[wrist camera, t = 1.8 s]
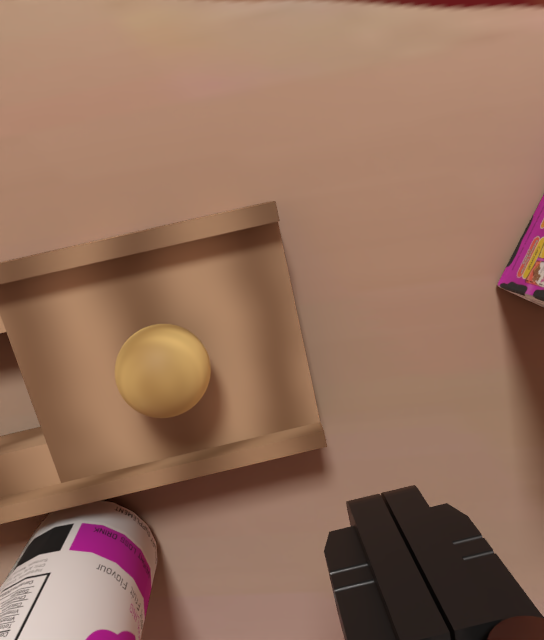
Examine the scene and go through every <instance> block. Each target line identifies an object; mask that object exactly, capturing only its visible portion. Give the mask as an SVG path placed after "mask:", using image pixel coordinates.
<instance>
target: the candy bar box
mask: <svg viewBox="0 0 544 640" xmlns="http://www.w3.org/2000/svg"><path fill="white" fill-rule="evenodd" d="M497 286H498V287H500V288H502V289H504V290H506V291H509V292H511V293H513V294H515V295H518V296H520V297H522V298H524V299H526V300H528V301H531V302H533V303H535V304H537V305H539V306H542V307H544V195H543V197H542V199H541V201H540V203H539V205H538V207H537V209H536V211H535V213H534V214H533V216H532V218H531V220H530V222H529V224H528V226H527V228H526V230H525V232H524V234H523V236H522V238H521V239H520V241H519V243H518V245H517V247H516V249H515V251H514V253H513V255H512V257H511V259H510V261H509V263H508V265H507V267H506V269H505V270H504V272H503V274H502V276H501V278H500V280H499V282H498V284H497Z"/></svg>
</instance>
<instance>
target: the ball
mask: <svg viewBox="0 0 544 640" xmlns="http://www.w3.org/2000/svg"><path fill="white" fill-rule="evenodd" d="M210 375H211V366H210V359H209V356H208V353H207V351H206V349H205V347H204V345H203V344H202V342H201V341H200V340H199V339H198V338H197V337H196V336H195V335H194V334H193V333H191V332H190V331H188V330H187V329H185V328H183V327H180V326H177V325H172V324H156V325H151V326H148V327H145V328H143V329H140V330H139V331H137V332H136V333H134V334H133V335H132V336H131V337H130V338H129V339H128V340H127V341H126V342H125V343H124V345H123V346H122V348H121V349H120V351H119V353H118V356H117V359H116V363H115V381H116V385H117V388H118V390H119V393H120V394H121V396H122V398H123V399H124V400H125V402H126V403H127V404H128V405H129V406H130V407H132V408H133V409H134V410H136V411H137V412H139V413H141V414H143V415H146V416H149V417H154V418H169V417H174V416H178V415H180V414H182V413H184V412H186V411H188V410H190V409H191V408H192V407H194V406H195V405H196V404H197V403H198V402H199V400H200V399H201V398H202V396H203V395H204V393H205V391H206V389H207V387H208V384H209V381H210Z"/></svg>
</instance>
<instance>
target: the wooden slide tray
mask: <svg viewBox="0 0 544 640" xmlns="http://www.w3.org/2000/svg"><path fill="white" fill-rule="evenodd" d="M278 221H279V216H278V211H277V207H276V202H275V201H273V202H266V203H262V204H257V205H253V206H248V207H244V208H240V209H235V210H231V211H226V212H222V213H217V214H213V215H209V216H204V217H200V218H195V219H191V220H186V221H182V222H177V223H173V224H169V225H164V226H160V227H155V228H151V229H146V230H142V231H138V232H133V233H129V234H124V235H120V236H115V237H111V238H106V239H102V240H98V241H93V242H89V243H84V244H80V245H75V246H71V247H67V248H62V249H58V250H53V251H49V252H44V253H40V254H35V255H31V256H27V257H22V258H18V259H13V260H9V261H4V262H0V333H4V332H7V335H8V338H9V341H10V343H11V346H12V349H13V352H14V354H15V357H16V360H17V363H18V366H19V368H20V371H21V374H22V377H23V379H24V382H25V385H26V388H27V390H28V393H29V396H30V399H31V401H32V404H33V407H34V410H35V412H36V415H37V418H38V421H39V423H40V426H41V427H38V428H34V429H29V430H25V431H21V432H16V433H12V434H8V435H4V436H0V524H3V523H7V522H11V521H15V520H20V519H24V518H28V517H32V516H37V515H41V514H45V513H49V512H53V511H58V510H62V509H66V508H70V507H75V506H79V505H83V504H87V503H91V502H96V501H100V500H104V499H108V498H113V497H117V496H121V495H125V494H129V493H134V492H138V491H142V490H146V489H151V488H155V487H159V486H163V485H167V484H172V483H176V482H180V481H184V480H189V479H193V478H197V477H201V476H205V475H210V474H214V473H218V472H222V471H227V470H231V469H235V468H239V467H243V466H248V465H252V464H256V463H260V462H265V461H269V460H273V459H277V458H281V457H286V456H290V455H294V454H298V453H303V452H307V451H311V450H315V449H320V448H324V447H327V444H326V439H325V434H324V430H323V428H322V425H321V423H320V419H319V414H318V409H317V404H316V400H315V395H314V390H313V385H312V381H311V376H310V371H309V367H308V362H307V357H306V352H305V348H304V343H303V338H302V333H301V329H300V324H299V319H298V315H297V310H296V305H295V300H294V296H293V291H292V286H291V281H290V277H289V272H288V267H287V263H286V258H285V253H284V248H283V244H282V239H281V234H280V229H279V225H278ZM156 324H172V325H177V326H180V327H183V328H185V329H187V330H188V331H190V332H191V333H193V334H194V335H195V336H196V337H197V338H198V339H199V340H200V341H201V342H202V344H203V345H204V347H205V349H206V351H207V353H208V356H209V359H210V366H211V375H210V381H209V384H208V387H207V389H206V391H205V393H204V395H203V396H202V398H201V399H200V400H199V402H198V403H197V404H196V405H195V406H194V407H192V408H191V409H190V410H188V411H186V412H184V413H182V414H180V415H178V416H174V417H169V418H154V417H149V416H146V415H143V414H141V413H139V412H137V411H136V410H134V409H133V408H132V407H130V406H129V405H128V404H127V403H126V402H125V400H124V399H123V398H122V396H121V394H120V393H119V390H118V388H117V385H116V381H115V363H116V359H117V356H118V353H119V351H120V349H121V348H122V346H123V345H124V343H125V342H126V341H127V340H128V339H129V338H130V337H131V336H132V335H133V334H134V333H136V332H137V331H139V330H140V329H143V328H145V327H148V326H151V325H156Z"/></svg>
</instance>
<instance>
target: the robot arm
mask: <svg viewBox="0 0 544 640" xmlns="http://www.w3.org/2000/svg"><path fill="white" fill-rule="evenodd" d="M346 504H347V510H348V515H349V520H350V525H351V527H347V528H343V529H339V530H335V531H331V532H329V535H328V539H327V542H326V546H325V550H324V553H325V558H326V562H327V566H328V571H329V575H330V580H331V584H332V589H333V593H334V598H335V602H336V606H337V611H338V615H339V619H340V623H341V627H342V631H343V634H344V638H345V640H544V617H543V616H542V614H541V613H540V612H539V611H538V609H537V608H536V607H535V605H534V604H533V603H532V601H531V600H530V599H529V597H528V596H527V595H526V593H525V592H524V591H523V589H522V588H521V587H520V585H519V584H518V583H517V581H516V580H515V579H514V577H513V576H512V575H511V573H510V572H509V571H508V569H507V568H506V567H505V565H504V564H503V562H502V561H501V560H500V558H499V557H498V556H497V554H494V552H493V549H492V548H491V546H490V545H489V544H488V542H487V541H486V540H485V538H482V535H481V533H480V532H479V530H478V529H477V528H476V526H475V525H474V524H473V522H472V521H471V520H470V518H469V517H468V516H467V515H465V514H463V513H462V512H460V511H458V510H457V509H455V508H454V507H452V506H450V505H449V504H447V503H446V504H442V505H438V506H434V507H429V505H428V504H427V502H426V501H425V499H424V497H423V496H422V494H421V493H420V491H419V490H418V488H417V487H416V486H415V485H413V486H408V487H404V488H400V489H396V490H392V491H388V492H383V493H381V495H380V494H376V495H372V496H367V497H363V498H359V499H355V500H351V501H347V502H346Z"/></svg>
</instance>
